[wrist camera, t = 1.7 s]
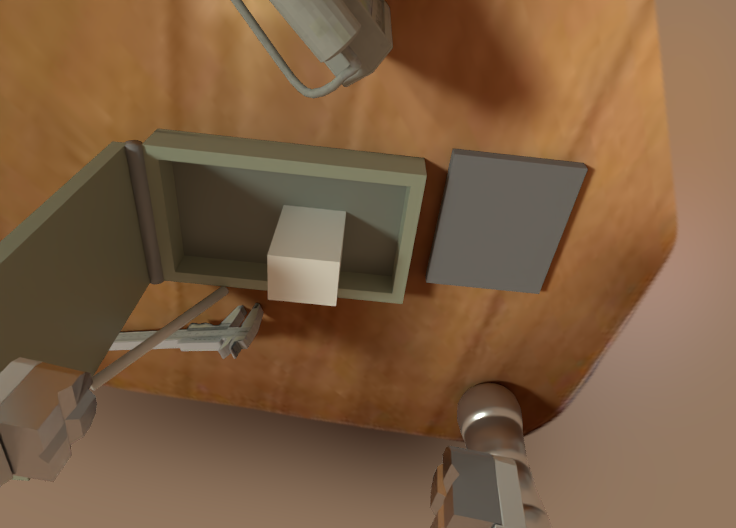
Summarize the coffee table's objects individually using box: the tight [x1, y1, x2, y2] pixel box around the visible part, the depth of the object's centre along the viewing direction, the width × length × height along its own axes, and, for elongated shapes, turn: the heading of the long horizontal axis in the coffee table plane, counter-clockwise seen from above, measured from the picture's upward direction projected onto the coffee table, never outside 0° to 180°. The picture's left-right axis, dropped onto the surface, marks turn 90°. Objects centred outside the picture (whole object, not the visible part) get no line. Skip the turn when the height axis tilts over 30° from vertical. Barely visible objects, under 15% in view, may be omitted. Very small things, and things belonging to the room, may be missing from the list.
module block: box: [267, 205, 346, 306], centre depth 39 cm, size 4×5×7 cm
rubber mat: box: [426, 149, 588, 294], centre depth 41 cm, size 12×10×1 cm
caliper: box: [109, 303, 264, 359], centre depth 47 cm, size 20×1×6 cm, turn 105°
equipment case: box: [0, 129, 427, 481], centre depth 33 cm, size 13×22×21 cm, turn 84°
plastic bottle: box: [457, 383, 552, 528], centre depth 46 cm, size 6×7×20 cm
